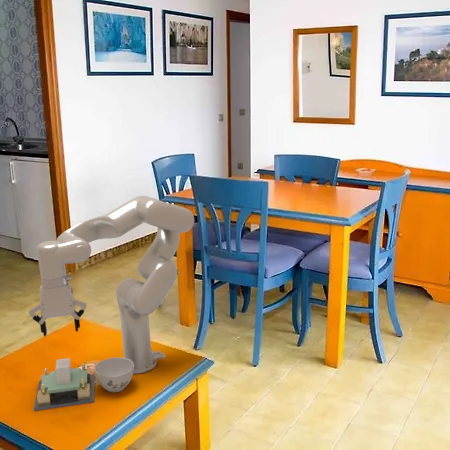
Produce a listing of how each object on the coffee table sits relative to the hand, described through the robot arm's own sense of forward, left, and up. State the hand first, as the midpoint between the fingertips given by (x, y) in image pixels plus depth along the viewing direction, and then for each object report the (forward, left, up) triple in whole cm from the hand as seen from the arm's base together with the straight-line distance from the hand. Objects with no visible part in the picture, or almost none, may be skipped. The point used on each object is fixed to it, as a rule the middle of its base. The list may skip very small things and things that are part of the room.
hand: (61, 332), depth 177 cm
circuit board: (+1, +1, -17) cm, 17 cm away
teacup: (-15, +1, -21) cm, 26 cm away
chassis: (+1, +1, -21) cm, 21 cm away
